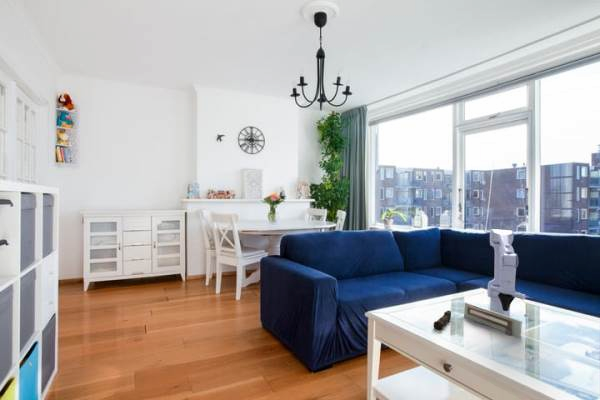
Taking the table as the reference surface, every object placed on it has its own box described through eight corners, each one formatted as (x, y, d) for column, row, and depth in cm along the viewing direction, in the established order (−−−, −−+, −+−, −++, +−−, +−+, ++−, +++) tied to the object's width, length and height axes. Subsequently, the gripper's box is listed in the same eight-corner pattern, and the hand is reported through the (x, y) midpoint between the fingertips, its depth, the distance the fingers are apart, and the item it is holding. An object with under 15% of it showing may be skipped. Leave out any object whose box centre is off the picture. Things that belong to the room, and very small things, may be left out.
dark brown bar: (442, 332, 147) (442, 321, 147) (433, 329, 150) (433, 318, 150) (455, 320, 161) (456, 311, 161) (447, 318, 164) (447, 308, 164)
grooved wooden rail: (468, 313, 164) (468, 305, 164) (511, 329, 146) (511, 320, 146) (467, 314, 163) (467, 306, 163) (509, 329, 146) (510, 320, 146)
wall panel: (465, 315, 167) (466, 302, 167) (520, 336, 145) (521, 320, 145) (460, 316, 166) (461, 303, 165) (516, 338, 143) (517, 322, 143)
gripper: (486, 277, 153) (484, 306, 153) (520, 286, 140) (518, 317, 141) (494, 275, 156) (493, 304, 157) (528, 284, 144) (526, 315, 144)
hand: (505, 310), depth 149 cm, fingers closed
